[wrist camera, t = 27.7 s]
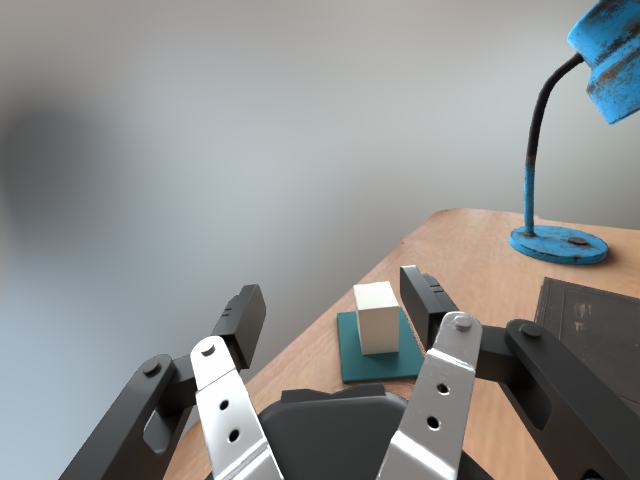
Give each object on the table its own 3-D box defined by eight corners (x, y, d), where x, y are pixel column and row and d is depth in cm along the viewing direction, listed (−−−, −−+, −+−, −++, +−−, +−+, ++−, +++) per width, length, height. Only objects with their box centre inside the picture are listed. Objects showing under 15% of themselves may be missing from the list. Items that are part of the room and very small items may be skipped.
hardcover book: (521, 382, 29) (525, 370, 28) (541, 286, 42) (544, 276, 41) (786, 510, 18) (809, 498, 17) (698, 326, 32) (708, 314, 31)
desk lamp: (649, 283, 40) (890, -126, 20) (496, 250, 55) (549, 1, 36) (643, 245, 49) (805, -62, 29) (513, 226, 64) (562, 17, 45)
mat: (343, 383, 32) (342, 380, 32) (337, 315, 44) (337, 313, 43) (430, 376, 31) (431, 373, 31) (401, 308, 43) (401, 306, 42)
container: (362, 354, 35) (358, 310, 31) (357, 326, 40) (353, 285, 36) (399, 351, 34) (399, 305, 30) (389, 323, 39) (388, 281, 35)
